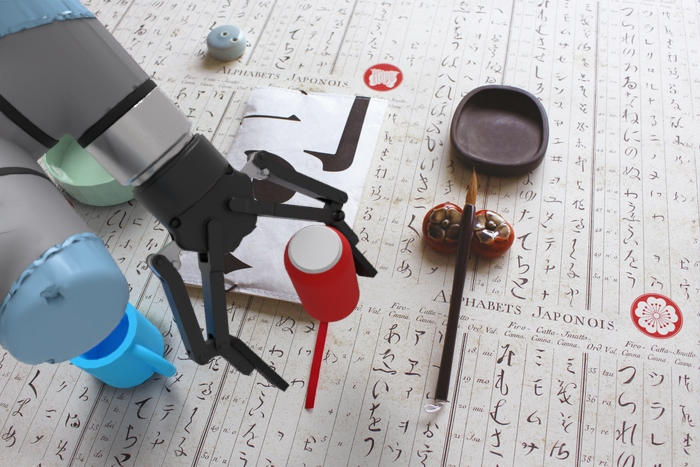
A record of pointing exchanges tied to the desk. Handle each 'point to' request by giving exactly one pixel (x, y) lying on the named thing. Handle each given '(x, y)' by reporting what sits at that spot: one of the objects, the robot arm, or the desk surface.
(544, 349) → the desk surface
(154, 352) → the mug
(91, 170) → the bowl
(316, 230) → the beverage can
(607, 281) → the desk surface
